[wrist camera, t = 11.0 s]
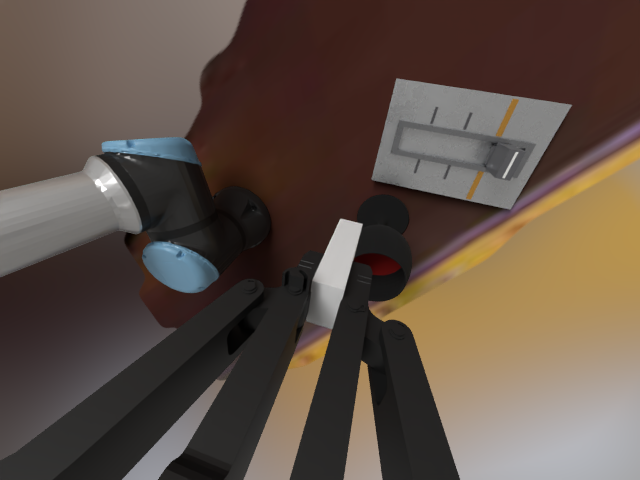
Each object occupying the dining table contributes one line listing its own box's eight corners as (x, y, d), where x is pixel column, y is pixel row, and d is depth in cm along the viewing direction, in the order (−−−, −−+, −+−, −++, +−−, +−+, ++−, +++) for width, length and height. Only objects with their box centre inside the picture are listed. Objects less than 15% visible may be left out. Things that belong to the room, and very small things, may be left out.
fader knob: (482, 166, 42) (493, 177, 36) (494, 140, 39) (508, 148, 34) (497, 169, 41) (511, 181, 36) (511, 143, 39) (527, 152, 34)
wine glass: (417, 229, 52) (425, 295, 35) (371, 246, 57) (359, 312, 40) (395, 185, 49) (392, 235, 32) (348, 207, 54) (324, 261, 37)
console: (372, 176, 49) (370, 181, 47) (396, 78, 41) (396, 78, 38) (506, 205, 46) (512, 211, 43) (564, 104, 37) (575, 105, 34)
